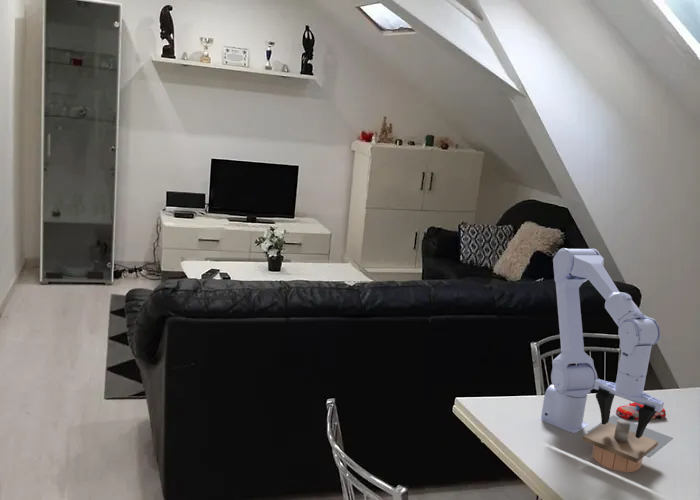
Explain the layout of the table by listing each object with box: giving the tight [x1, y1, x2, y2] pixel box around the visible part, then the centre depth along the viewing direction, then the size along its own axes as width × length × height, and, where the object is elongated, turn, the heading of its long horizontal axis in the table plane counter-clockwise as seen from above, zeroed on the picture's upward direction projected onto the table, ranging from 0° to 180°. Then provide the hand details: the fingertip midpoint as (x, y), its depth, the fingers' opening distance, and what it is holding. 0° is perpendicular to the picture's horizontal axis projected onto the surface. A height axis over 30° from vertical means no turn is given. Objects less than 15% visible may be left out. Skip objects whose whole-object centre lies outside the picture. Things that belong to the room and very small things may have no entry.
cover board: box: [581, 418, 658, 463], centre depth 149 cm, size 12×12×5 cm
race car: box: [615, 402, 667, 421], centre depth 174 cm, size 13×5×4 cm, turn 101°
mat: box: [586, 415, 674, 458], centre depth 163 cm, size 15×15×1 cm
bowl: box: [591, 445, 644, 473], centre depth 150 cm, size 10×10×4 cm
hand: (621, 429), depth 148 cm, fingers open, 7 cm apart
